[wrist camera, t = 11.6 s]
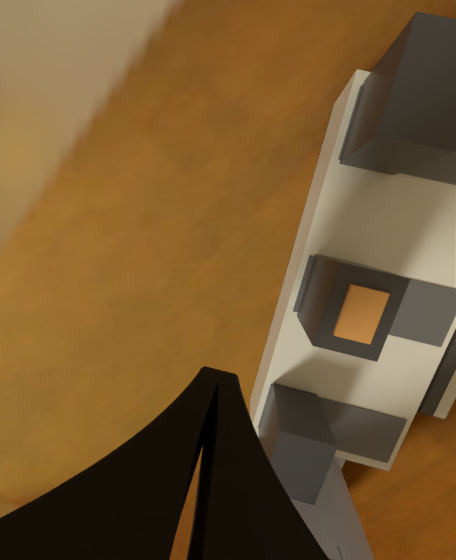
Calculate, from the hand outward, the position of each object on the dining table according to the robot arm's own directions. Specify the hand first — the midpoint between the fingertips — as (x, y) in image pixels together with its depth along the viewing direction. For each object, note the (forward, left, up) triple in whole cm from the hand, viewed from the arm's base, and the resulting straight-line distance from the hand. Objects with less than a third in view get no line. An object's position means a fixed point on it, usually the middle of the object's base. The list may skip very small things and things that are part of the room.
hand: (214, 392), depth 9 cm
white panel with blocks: (+4, -8, -10) cm, 14 cm away
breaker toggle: (+4, -5, -7) cm, 9 cm away
